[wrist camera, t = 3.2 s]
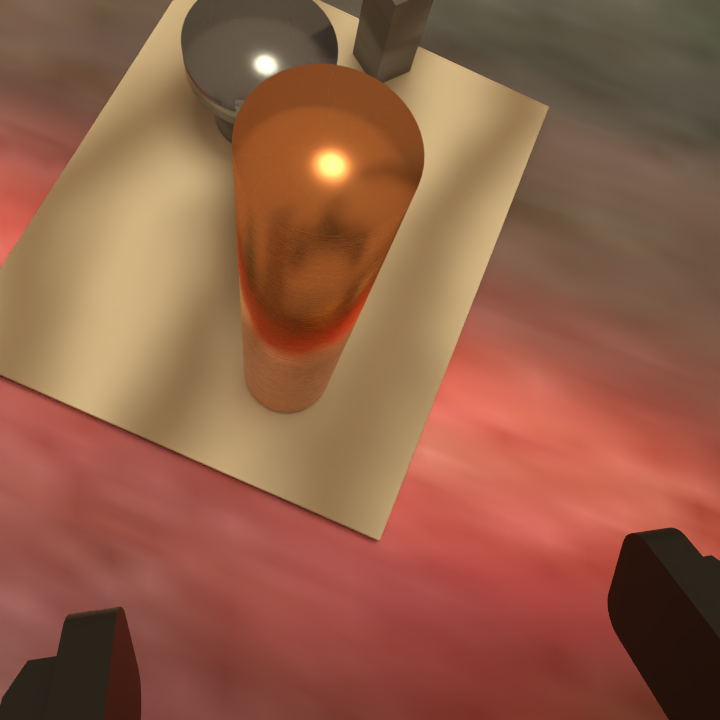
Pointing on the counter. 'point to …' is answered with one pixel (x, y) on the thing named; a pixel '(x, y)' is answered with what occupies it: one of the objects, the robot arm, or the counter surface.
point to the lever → (301, 182)
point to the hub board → (221, 274)
